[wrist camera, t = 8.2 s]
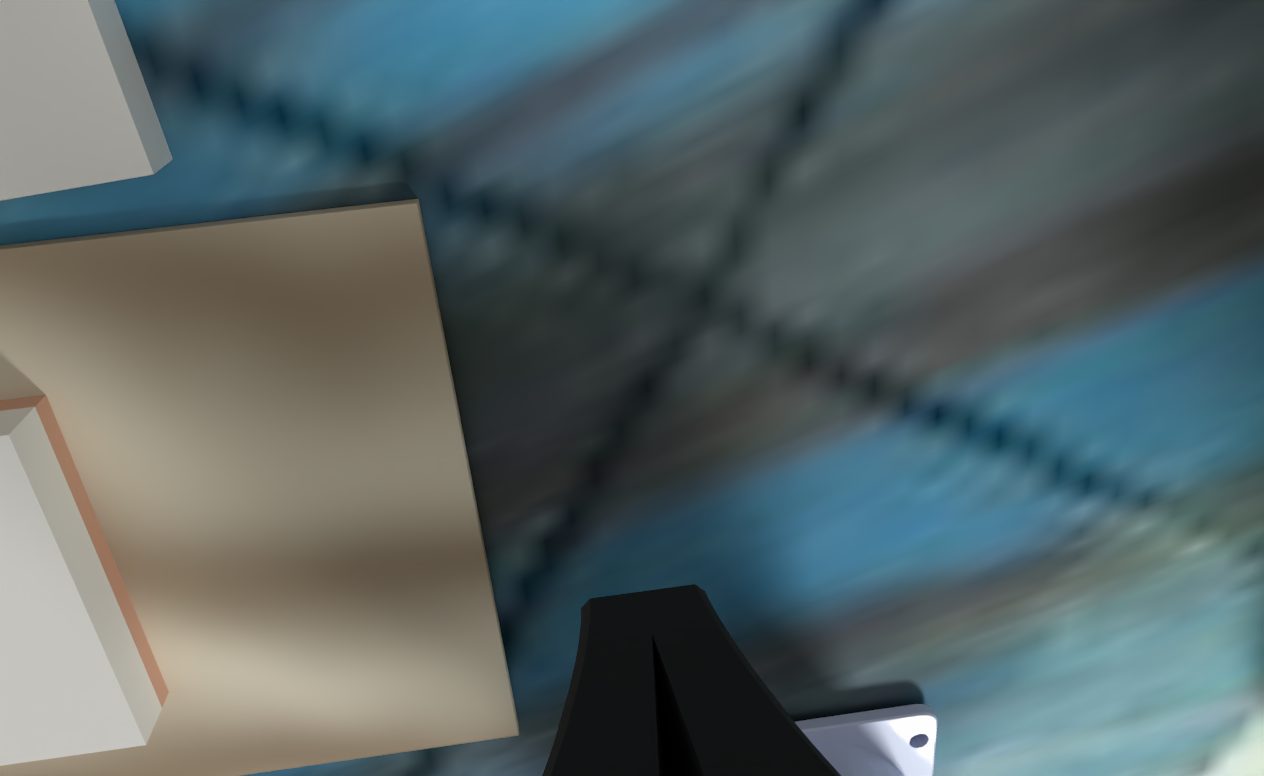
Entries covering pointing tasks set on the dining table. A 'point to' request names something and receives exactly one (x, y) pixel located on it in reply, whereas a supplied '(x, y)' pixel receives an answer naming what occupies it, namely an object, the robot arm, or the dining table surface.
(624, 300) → the dining table surface
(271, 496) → the mat
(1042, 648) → the dining table surface
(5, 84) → the flipped tile
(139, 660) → the tile
